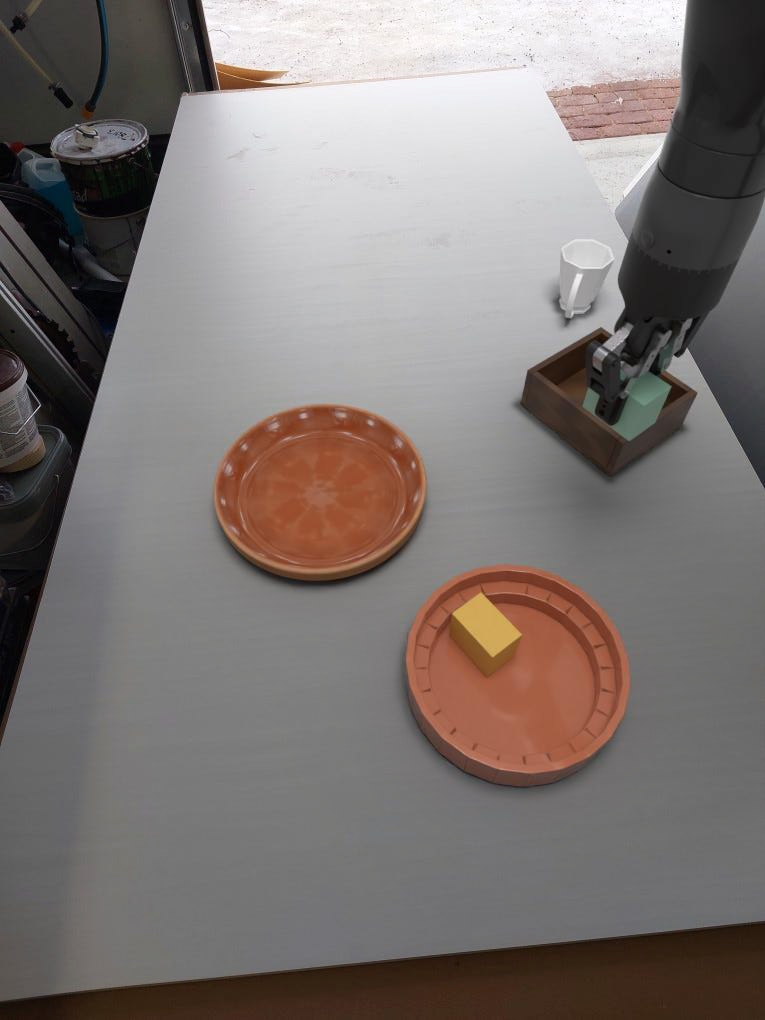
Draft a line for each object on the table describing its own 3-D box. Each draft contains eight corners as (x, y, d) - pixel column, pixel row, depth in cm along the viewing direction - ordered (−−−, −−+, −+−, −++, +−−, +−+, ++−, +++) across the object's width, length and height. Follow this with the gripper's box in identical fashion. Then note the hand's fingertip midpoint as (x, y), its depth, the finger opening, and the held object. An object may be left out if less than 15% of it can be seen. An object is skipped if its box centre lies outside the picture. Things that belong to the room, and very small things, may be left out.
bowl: (661, 697, 63) (677, 678, 59) (505, 837, 56) (513, 825, 53) (513, 555, 72) (519, 531, 69) (364, 661, 65) (362, 640, 62)
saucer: (467, 498, 77) (470, 477, 74) (315, 632, 67) (311, 614, 64) (328, 397, 86) (326, 375, 83) (178, 501, 77) (169, 481, 74)
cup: (604, 295, 98) (620, 244, 91) (589, 339, 92) (603, 287, 86) (556, 284, 99) (567, 233, 93) (537, 326, 94) (548, 275, 87)
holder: (681, 426, 83) (698, 392, 78) (610, 476, 78) (623, 443, 74) (590, 361, 90) (601, 326, 85) (520, 404, 85) (527, 370, 81)
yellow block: (515, 655, 65) (522, 634, 61) (487, 677, 64) (492, 657, 60) (476, 614, 68) (481, 591, 64) (448, 635, 66) (451, 613, 63)
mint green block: (655, 423, 62) (672, 386, 58) (629, 441, 61) (644, 405, 57) (608, 389, 64) (621, 352, 61) (581, 406, 63) (593, 369, 59)
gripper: (667, 300, 44) (600, 472, 58) (795, 221, 49) (705, 396, 63) (578, 246, 47) (535, 420, 61) (706, 177, 52) (639, 352, 66)
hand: (621, 407), depth 62 cm, fingers closed on mint green block, 3 cm apart
